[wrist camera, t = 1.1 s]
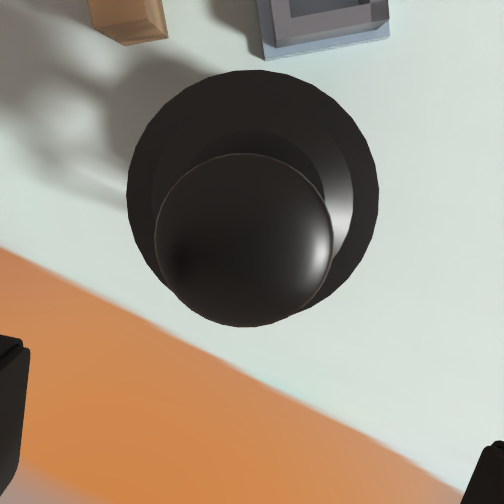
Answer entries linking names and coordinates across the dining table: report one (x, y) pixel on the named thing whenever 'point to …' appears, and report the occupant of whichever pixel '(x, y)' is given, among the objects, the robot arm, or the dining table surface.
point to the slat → (129, 20)
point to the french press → (252, 196)
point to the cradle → (319, 25)
